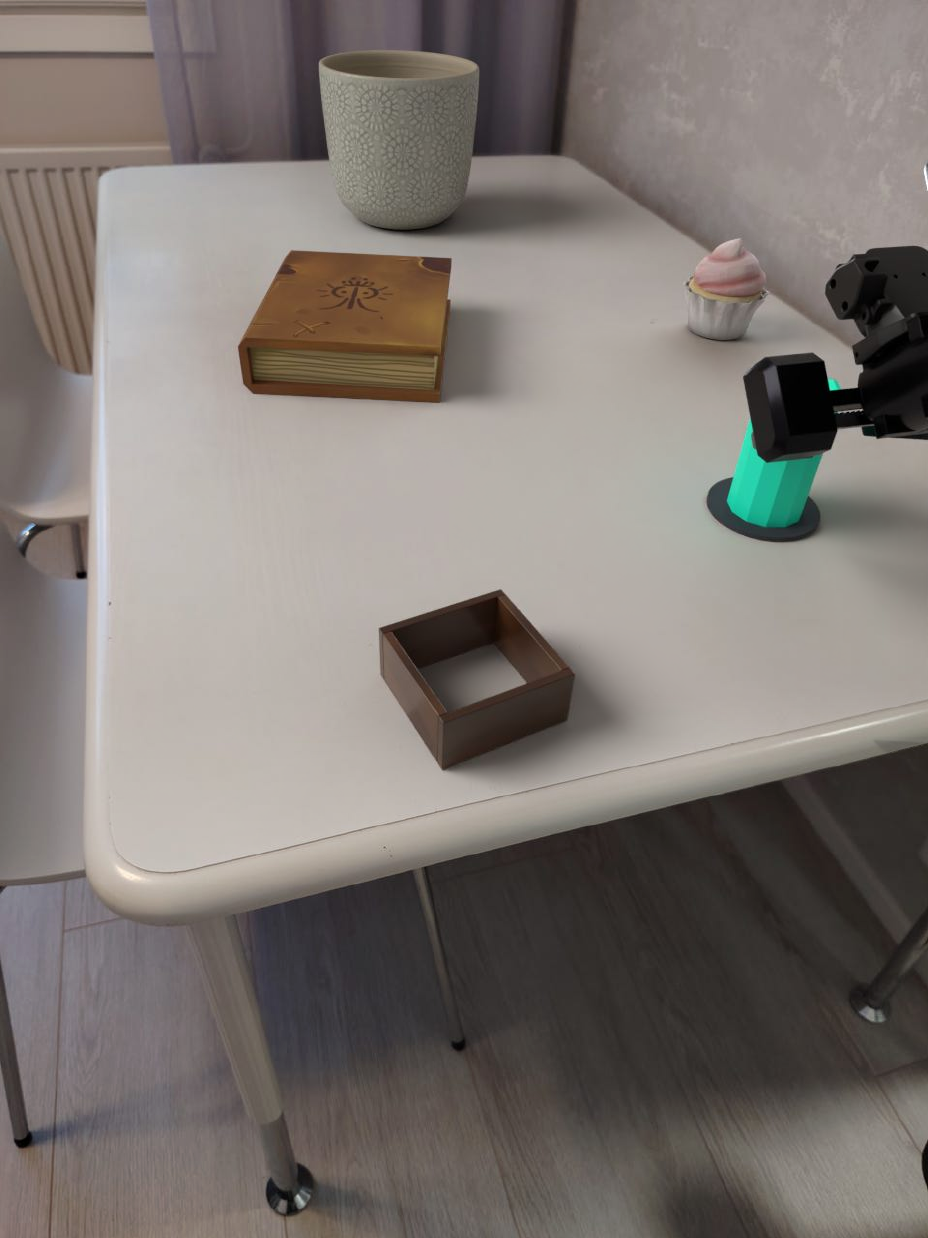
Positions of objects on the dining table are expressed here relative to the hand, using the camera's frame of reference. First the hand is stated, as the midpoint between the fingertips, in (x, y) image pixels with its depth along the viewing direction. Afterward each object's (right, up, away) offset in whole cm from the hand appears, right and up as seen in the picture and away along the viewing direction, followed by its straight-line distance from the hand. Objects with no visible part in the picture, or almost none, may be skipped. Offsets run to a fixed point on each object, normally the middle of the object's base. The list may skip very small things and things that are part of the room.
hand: (809, 435), depth 63 cm
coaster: (-1, -5, +7) cm, 9 cm away
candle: (-1, -5, +7) cm, 8 cm away
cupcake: (+3, +19, +35) cm, 40 cm away
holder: (-25, -18, -10) cm, 32 cm away
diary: (-37, +15, +28) cm, 49 cm away
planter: (-34, +44, +61) cm, 83 cm away
